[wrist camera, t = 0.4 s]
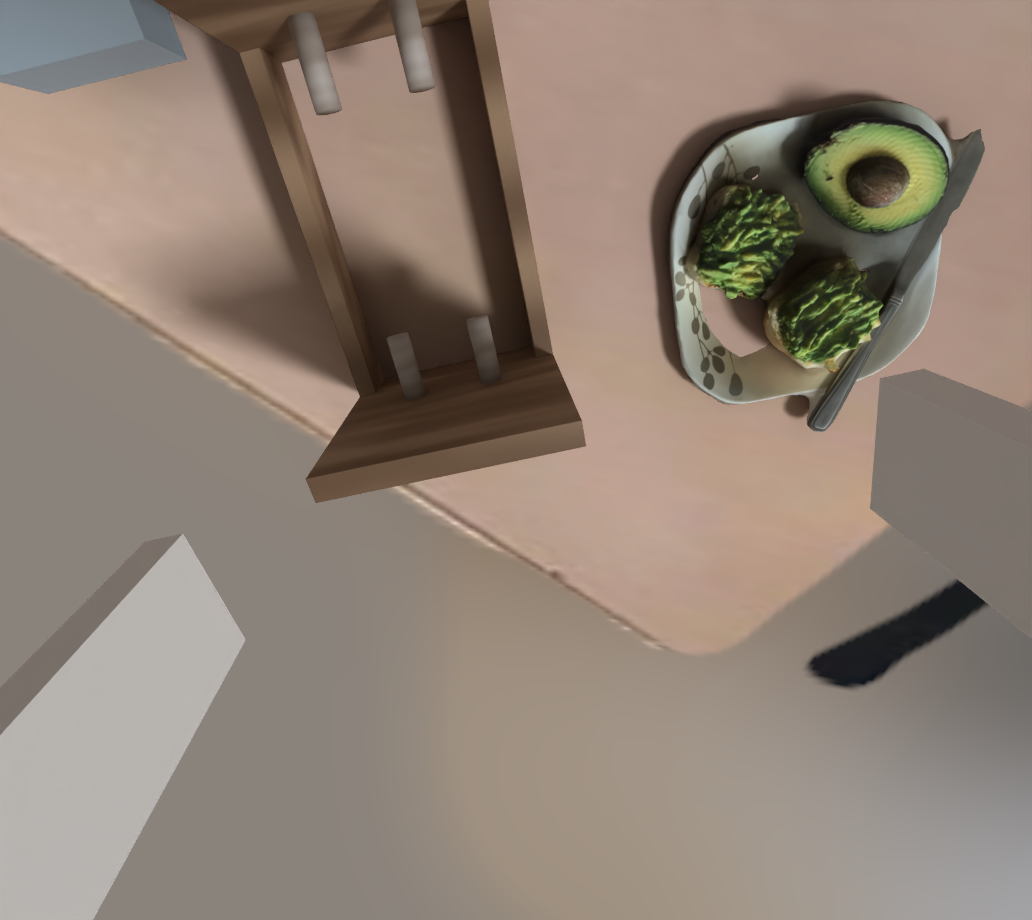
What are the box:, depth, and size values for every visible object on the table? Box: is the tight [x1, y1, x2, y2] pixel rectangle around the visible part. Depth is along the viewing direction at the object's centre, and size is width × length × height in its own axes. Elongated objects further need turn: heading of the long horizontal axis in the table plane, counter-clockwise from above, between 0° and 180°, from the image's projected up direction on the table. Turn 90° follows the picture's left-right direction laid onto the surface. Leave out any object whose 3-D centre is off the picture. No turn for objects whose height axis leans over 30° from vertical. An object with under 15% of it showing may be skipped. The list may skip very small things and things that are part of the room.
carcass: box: [154, 0, 586, 503], centre depth 26 cm, size 20×12×14 cm, turn 12°
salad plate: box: [667, 100, 985, 432], centre depth 33 cm, size 19×18×5 cm
